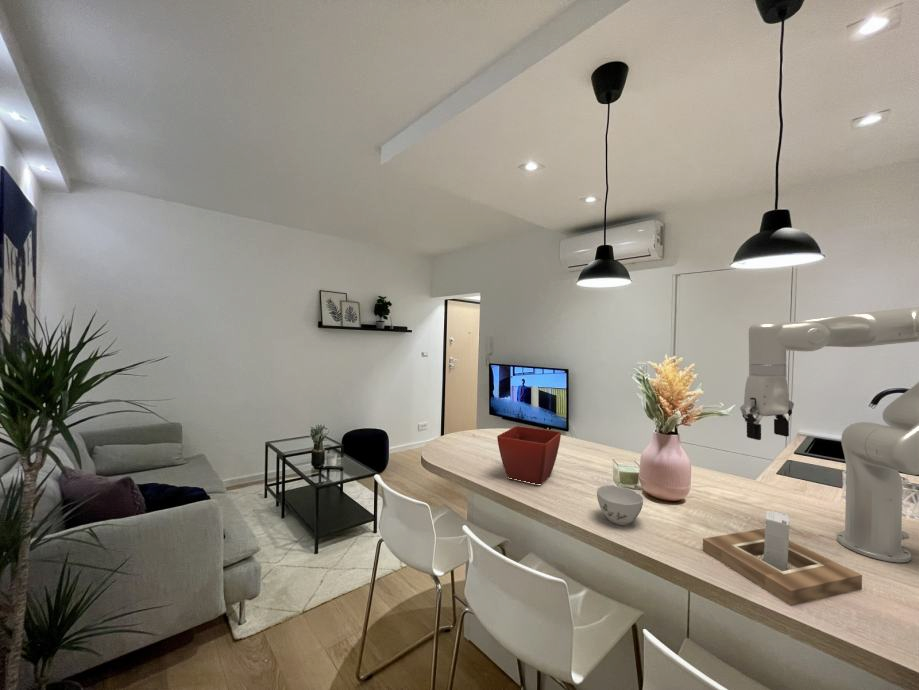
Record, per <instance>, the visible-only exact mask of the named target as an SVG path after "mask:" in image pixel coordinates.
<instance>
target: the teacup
mask: <svg viewBox="0 0 919 690" xmlns="http://www.w3.org/2000/svg"><path fill="white" fill-rule="evenodd" d="M596 497H597V503H598V505H599V508H600V509H601V511H602V513H603V515H604V516H605V517H606V518H607V520H608V521H610V522H611V523H612V524H616V525H618V526H619V525H620V526H628V525H630V523H631V522H633V521H634V520H635V519H637V518H638V516H639V515H640V513H641V511H642V509H643V505H644V496H642V494H640V493H638V492H636V491H635V490H633V489H631V488H628V487H622V486H617V485H611V484H610V485H602V486H599V487H597V489H596Z"/></svg>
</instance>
